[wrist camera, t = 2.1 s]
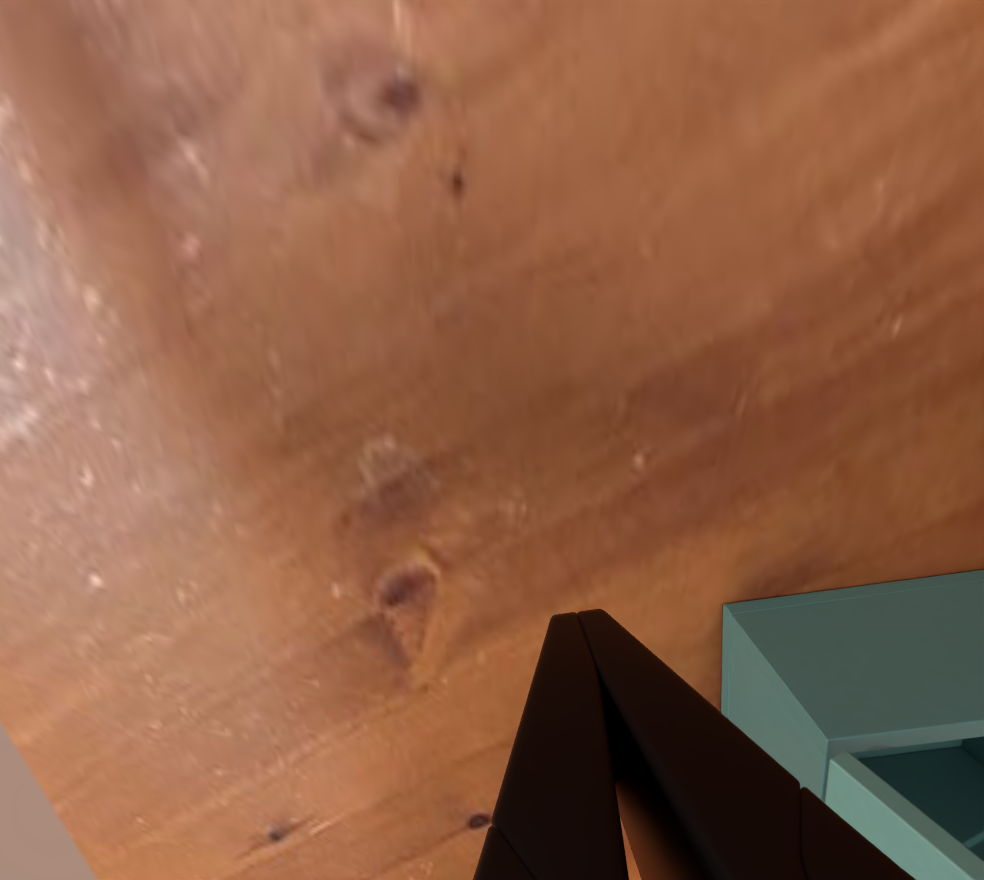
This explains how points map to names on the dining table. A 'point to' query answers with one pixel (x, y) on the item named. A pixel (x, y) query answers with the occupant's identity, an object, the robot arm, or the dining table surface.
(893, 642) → the open box
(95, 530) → the dining table surface
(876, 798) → the lid
